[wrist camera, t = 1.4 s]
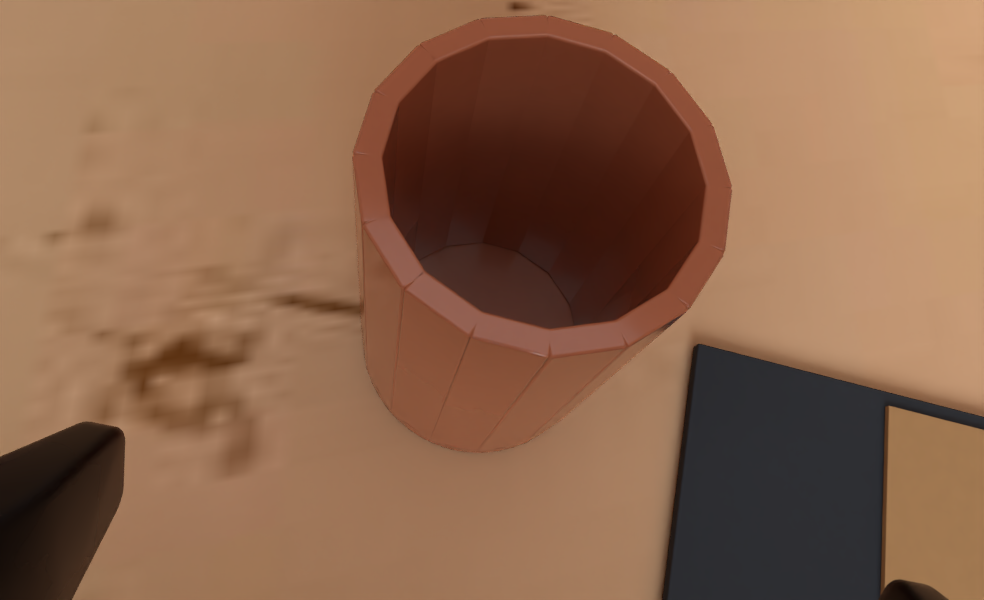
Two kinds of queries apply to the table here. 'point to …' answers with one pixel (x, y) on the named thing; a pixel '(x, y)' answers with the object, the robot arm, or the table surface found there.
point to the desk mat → (820, 488)
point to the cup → (526, 224)
